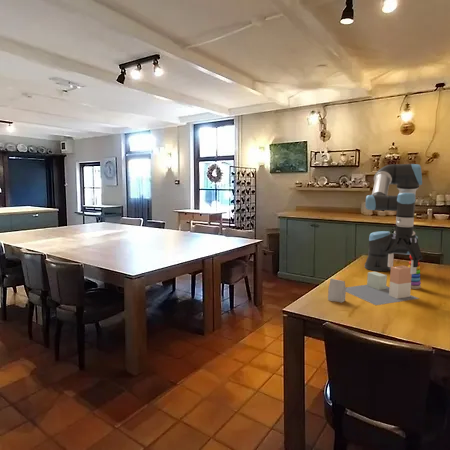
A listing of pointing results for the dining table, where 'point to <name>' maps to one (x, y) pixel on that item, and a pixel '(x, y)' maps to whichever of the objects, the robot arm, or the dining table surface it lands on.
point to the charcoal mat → (375, 295)
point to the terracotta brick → (400, 274)
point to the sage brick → (376, 280)
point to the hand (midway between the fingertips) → (401, 270)
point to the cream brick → (400, 290)
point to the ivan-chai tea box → (336, 290)
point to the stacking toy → (415, 277)
